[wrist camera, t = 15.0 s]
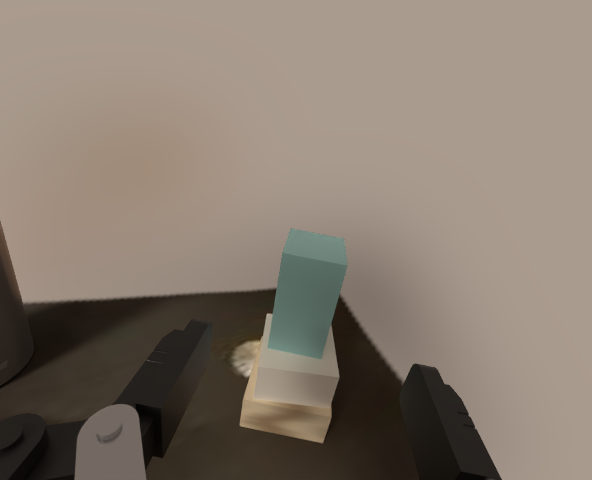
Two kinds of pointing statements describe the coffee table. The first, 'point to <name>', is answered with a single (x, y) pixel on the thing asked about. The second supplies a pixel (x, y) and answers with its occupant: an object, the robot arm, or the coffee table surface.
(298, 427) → the tower base block
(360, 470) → the coffee table surface
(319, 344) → the teal block
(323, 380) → the tower top block
